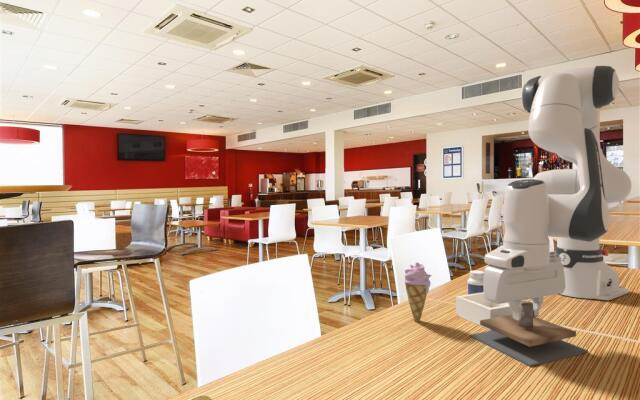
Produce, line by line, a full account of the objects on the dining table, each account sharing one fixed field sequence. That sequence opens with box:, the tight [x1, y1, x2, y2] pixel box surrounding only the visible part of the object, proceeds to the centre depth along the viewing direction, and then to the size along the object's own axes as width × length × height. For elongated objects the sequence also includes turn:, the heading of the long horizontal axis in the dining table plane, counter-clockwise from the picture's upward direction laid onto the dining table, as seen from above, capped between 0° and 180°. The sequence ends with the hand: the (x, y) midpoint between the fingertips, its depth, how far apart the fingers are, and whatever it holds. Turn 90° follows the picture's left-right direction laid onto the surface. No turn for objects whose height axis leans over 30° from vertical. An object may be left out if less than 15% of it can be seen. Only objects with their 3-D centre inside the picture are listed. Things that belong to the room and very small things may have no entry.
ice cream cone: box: [404, 262, 433, 323], centre depth 98 cm, size 7×6×15 cm
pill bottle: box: [466, 269, 484, 295], centre depth 110 cm, size 5×5×10 cm
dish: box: [455, 292, 513, 331], centre depth 99 cm, size 12×12×5 cm
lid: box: [479, 300, 577, 347], centre depth 83 cm, size 13×13×6 cm
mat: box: [469, 330, 589, 367], centre depth 83 cm, size 16×16×1 cm
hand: (525, 317), depth 83 cm, fingers closed on lid, 3 cm apart
